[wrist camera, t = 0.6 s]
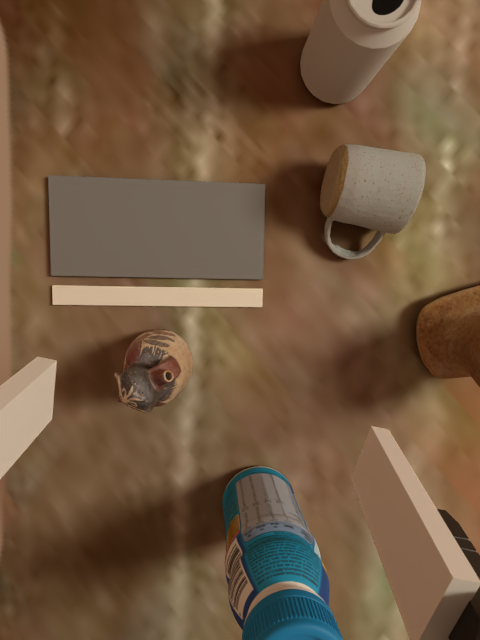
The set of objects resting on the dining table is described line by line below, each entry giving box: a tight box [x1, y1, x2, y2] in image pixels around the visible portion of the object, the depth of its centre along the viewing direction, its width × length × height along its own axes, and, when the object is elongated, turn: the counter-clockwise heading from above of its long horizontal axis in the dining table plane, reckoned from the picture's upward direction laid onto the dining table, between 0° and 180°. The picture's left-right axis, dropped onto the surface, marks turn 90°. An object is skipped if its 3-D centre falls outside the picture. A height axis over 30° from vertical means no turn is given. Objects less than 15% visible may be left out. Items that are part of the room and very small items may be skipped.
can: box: [300, 0, 421, 104], centre depth 34 cm, size 8×8×12 cm
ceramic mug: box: [320, 144, 426, 259], centre depth 38 cm, size 11×8×8 cm
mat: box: [48, 175, 265, 280], centre depth 40 cm, size 10×22×1 cm, turn 89°
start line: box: [52, 285, 263, 307], centre depth 41 cm, size 2×22×1 cm, turn 89°
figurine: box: [114, 329, 193, 413], centre depth 36 cm, size 7×7×12 cm
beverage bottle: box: [223, 466, 343, 640], centre depth 34 cm, size 8×8×20 cm
